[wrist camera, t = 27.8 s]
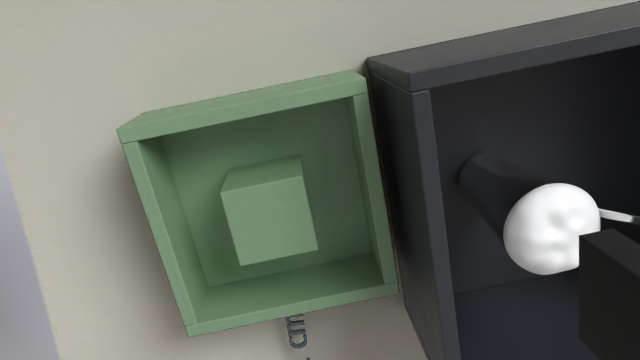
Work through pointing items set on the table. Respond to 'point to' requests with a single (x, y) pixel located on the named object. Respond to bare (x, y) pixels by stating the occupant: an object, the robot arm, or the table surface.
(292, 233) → the green block
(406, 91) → the dark bin
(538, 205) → the milkshake
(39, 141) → the table surface
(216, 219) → the green bin
